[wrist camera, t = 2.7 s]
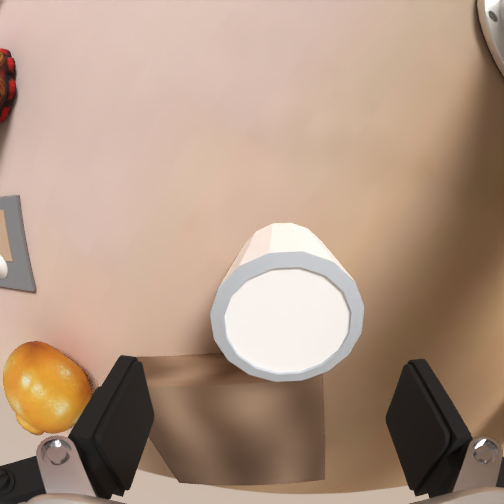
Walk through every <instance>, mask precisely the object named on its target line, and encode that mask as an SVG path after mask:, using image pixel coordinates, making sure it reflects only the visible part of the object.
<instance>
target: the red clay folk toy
mask: <svg viewBox="0 0 504 504" xmlns="http://www.w3.org/2000/svg"><path fill="white" fill-rule="evenodd" d="M14 70H15V61H14V58H12V57H11V53H10V51H9V50H6V49H0V123H2V122H3V121H4V120H5V119H6V118H7V116H8V115H9V113H10V105H11V101H12V99H13V97H14V94H15V92H16V83H15V80H14V79H13V71H14Z"/></svg>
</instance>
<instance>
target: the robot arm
mask: <svg viewBox="0 0 504 504" xmlns="http://www.w3.org/2000/svg"><path fill="white" fill-rule="evenodd" d="M477 8H478V14H479V20H480V24H481V27H482V31H483V34H484V37H485V40H486V42H487V45H488V48H489V50H490V52H491V54H492V56H493V58H494V60H495V63H496V65H497V66H498V68H499V70H500V71H501V73H502V75H503V77H504V0H477ZM153 422H154V410H153V406H152V402H151V398H150V394H149V390H148V386H147V382H146V377H145V373H144V368H143V364H142V362H140V361H138V359H137V358H136V357H132V356H124V355H121V356H120V357H119V358H118V360H117V361H116V363H115V365H114V366H113V368H112V370H111V371H110V373H109V374H108V376H107V378H106V379H105V381H104V383H103V384H102V386H101V387H98V388H97V389H96V390H95V392H94V394H93V395H92V397H91V399H90V400H89V402H88V404H87V405H86V407H85V409H84V410H83V412H82V414H81V415H80V417H79V419H78V420H77V422H76V424H75V426H74V427H73V429H72V431H71V432H70V434H69V436H68V438H67V437H64V436H58V435H57V436H51V437H48V438H46V439H44V440H43V441H42V442H41V443H40V444H39V445H38V448H37V451H36V454H37V455H36V456H34V457H31V458H27V459H24V460H20V461H17V462H14V463H10V464H6V465H3V466H0V504H125V503H121V502H117V501H112V500H109V499H110V498H111V496H112V494H115V495H118V496H122V497H123V494H124V492H125V490H129V489H130V487H131V484H132V482H133V478H134V475H135V473H136V470H137V467H138V464H139V461H140V458H141V456H142V453H143V450H144V447H145V444H146V441H147V439H148V436H149V433H150V430H151V427H152V425H153ZM386 424H387V426H388V429H389V432H390V435H391V437H392V440H393V443H394V446H395V448H396V451H397V454H398V457H399V460H400V463H401V466H402V468H403V471H404V474H405V477H406V480H407V483H408V486H409V488H410V490H414V493H415V496H420V495H423V494H427V493H428V495H429V498H430V499H426V500H423V501H418V502H414V503H410V504H504V457H502V456H503V451H502V448H501V446H500V444H499V443H498V442H497V441H496V440H495V439H493V438H491V437H487V436H480V437H477V438H474V439H473V438H472V436H471V433H470V432H469V430H468V428H467V426H466V425H465V423H464V421H463V419H462V418H461V416H460V414H459V413H458V411H457V409H456V408H455V406H454V404H453V403H452V401H451V399H450V398H449V396H448V394H447V393H446V391H445V390H444V388H443V386H442V385H441V383H440V382H439V380H438V378H437V377H436V375H435V374H434V372H433V371H432V369H431V368H430V366H429V364H428V363H427V361H426V360H425V359H417V360H410V361H409V362H408V364H406V365H404V367H403V370H402V373H401V376H400V379H399V382H398V384H397V387H396V390H395V393H394V396H393V398H392V401H391V404H390V406H389V409H388V412H387V414H386Z"/></svg>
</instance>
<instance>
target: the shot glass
mask: <svg viewBox="0 0 504 504" xmlns="http://www.w3.org/2000/svg"><path fill="white" fill-rule="evenodd" d="M363 316H364V304H363V302H362V299H361V296H360V293H359V291H358V288H357V286H356V283H355V281H354V280H353V279H352V277H351V276H350V275H349V274H348V273H347V271H346V270H345V269H344V268H343V267H342V265H341V264H340V263H339V262H338V261H337V259H336V258H335V257H334V256H333V255H332V253H331V252H330V251H329V250H328V249H327V248H326V246H325V245H324V244H323V243H322V242H321V241H320V240H319V239H318V238H317V237H316V236H315V235H314V234H313V233H312V232H311V231H310V230H309V229H307V228H304V227H301V226H298V225H296V224H293V223H276V224H271V225H269V226H266V227H264V228H262V229H260V230H258V231H256V232H255V233H254V234H253V235H252V236H251V237H250V238H249V240H248V241H247V242H246V243H245V244H244V246H243V247H242V249H241V251H240V252H239V254H238V256H237V257H236V259H235V261H234V262H233V264H232V266H231V268H230V269H229V271H228V273H227V274H226V276H225V278H224V279H223V281H222V283H221V284H220V286H219V288H218V291H217V294H216V297H215V300H214V303H213V306H212V309H211V312H210V318H211V324H212V331H213V337H214V340H215V342H216V343H217V345H218V346H219V348H220V349H221V351H222V352H223V354H224V355H225V357H226V358H227V360H228V361H230V362H231V363H233V364H234V365H236V366H237V367H239V368H240V369H242V370H243V371H245V372H246V373H247V374H249V375H252V376H256V377H259V378H263V379H267V380H271V381H274V382H282V381H302V380H305V379H308V378H311V377H314V376H316V375H319V374H322V373H324V372H327V371H329V370H330V369H331V368H333V367H334V366H335V365H336V364H338V363H339V362H340V361H341V360H343V359H344V358H345V357H346V356H348V355H349V353H350V352H351V350H352V348H353V346H354V345H355V343H356V341H357V340H358V338H359V336H360V334H361V333H362V325H363Z"/></svg>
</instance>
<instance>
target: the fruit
mask: <svg viewBox="0 0 504 504" xmlns="http://www.w3.org/2000/svg"><path fill="white" fill-rule="evenodd" d="M3 384H4V390H5V395H6V398H7V400H8V402H9V404H10V406H11V408H12V409H13V410H14V411H15V412H16V418H17V421H18V423H19V424H20V425H21V426H22V427H23V428H24V429H25V430H27V431H29V432H30V433H32V434H35V435H41V434H43V433H44V432H46V433H60V432H63V431H66V430H68V429H69V428H71V427H72V426H73V425H75V424H76V422H77V420H78V419H79V417H80V415H81V414H82V412H83V410H84V409H85V407H86V405H87V404H88V402H89V400H90V399H91V397H92V394H91V388H90V384H89V381H88V379H87V377H86V375H85V373H84V372H83V370H82V369H81V368H80V367H79V366H78V365H77V364H75V363H74V362H73V361H72V360H70V359H69V358H68V357H66V356H65V355H64V354H62V353H61V352H60V351H58V350H56V349H55V348H53V347H52V346H50V345H48V344H46V343H43V342H38V341H34V342H27V343H25V344H22V345H20V346H19V347H18V348H17V349H15V350H14V351H13V353H12V354H11V355H10V356H9V358H8V360H7V361H6V364H5V367H4V371H3Z"/></svg>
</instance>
